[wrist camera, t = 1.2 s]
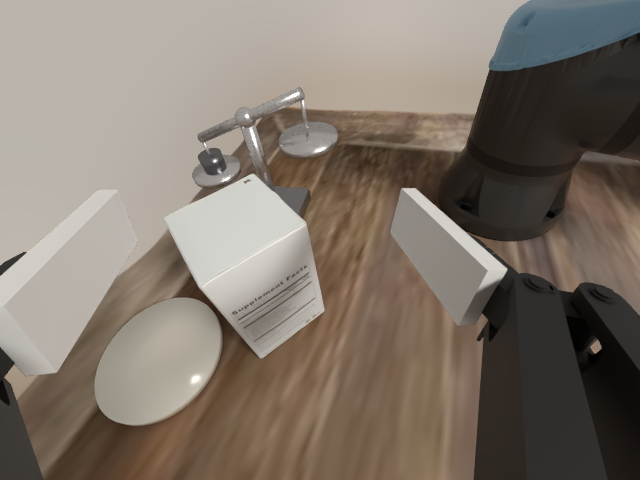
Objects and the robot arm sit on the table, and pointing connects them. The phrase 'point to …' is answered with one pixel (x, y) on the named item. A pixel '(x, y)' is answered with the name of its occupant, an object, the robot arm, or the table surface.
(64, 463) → the table surface
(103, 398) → the cream dish
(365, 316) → the table surface
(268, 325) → the supplement box
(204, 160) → the balance
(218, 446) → the table surface
